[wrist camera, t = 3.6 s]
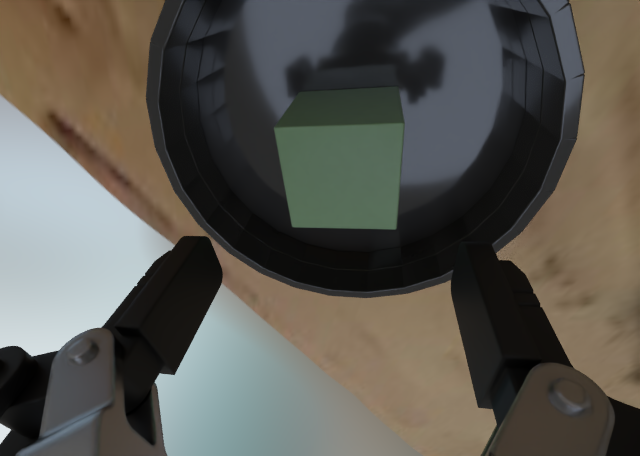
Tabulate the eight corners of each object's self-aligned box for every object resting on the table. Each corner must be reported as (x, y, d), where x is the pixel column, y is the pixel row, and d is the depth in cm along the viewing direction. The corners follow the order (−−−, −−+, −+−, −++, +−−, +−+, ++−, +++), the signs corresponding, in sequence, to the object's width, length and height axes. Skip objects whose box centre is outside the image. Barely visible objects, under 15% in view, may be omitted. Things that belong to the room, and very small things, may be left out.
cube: (298, 91, 16) (272, 127, 12) (398, 85, 15) (405, 122, 11) (309, 177, 19) (291, 228, 15) (393, 176, 18) (396, 230, 14)
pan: (129, -65, 13) (54, -78, 10) (619, -144, 10) (723, -197, 7) (237, 250, 24) (216, 289, 21) (486, 259, 21) (504, 306, 18)
